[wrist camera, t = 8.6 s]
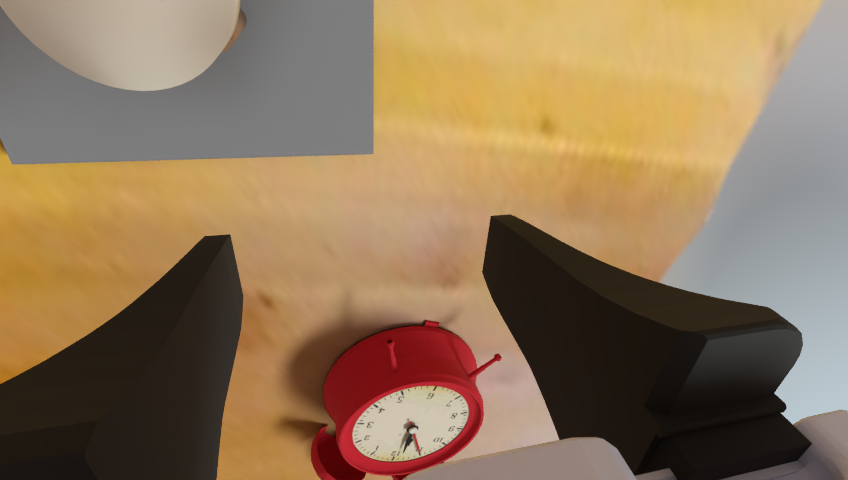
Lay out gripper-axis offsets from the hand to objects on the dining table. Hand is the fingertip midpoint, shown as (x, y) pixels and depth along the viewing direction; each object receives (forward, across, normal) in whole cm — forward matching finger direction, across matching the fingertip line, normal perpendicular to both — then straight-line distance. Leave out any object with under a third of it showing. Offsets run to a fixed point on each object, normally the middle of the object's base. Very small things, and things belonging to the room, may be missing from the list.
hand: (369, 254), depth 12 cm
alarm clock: (+10, -3, +19) cm, 21 cm away
